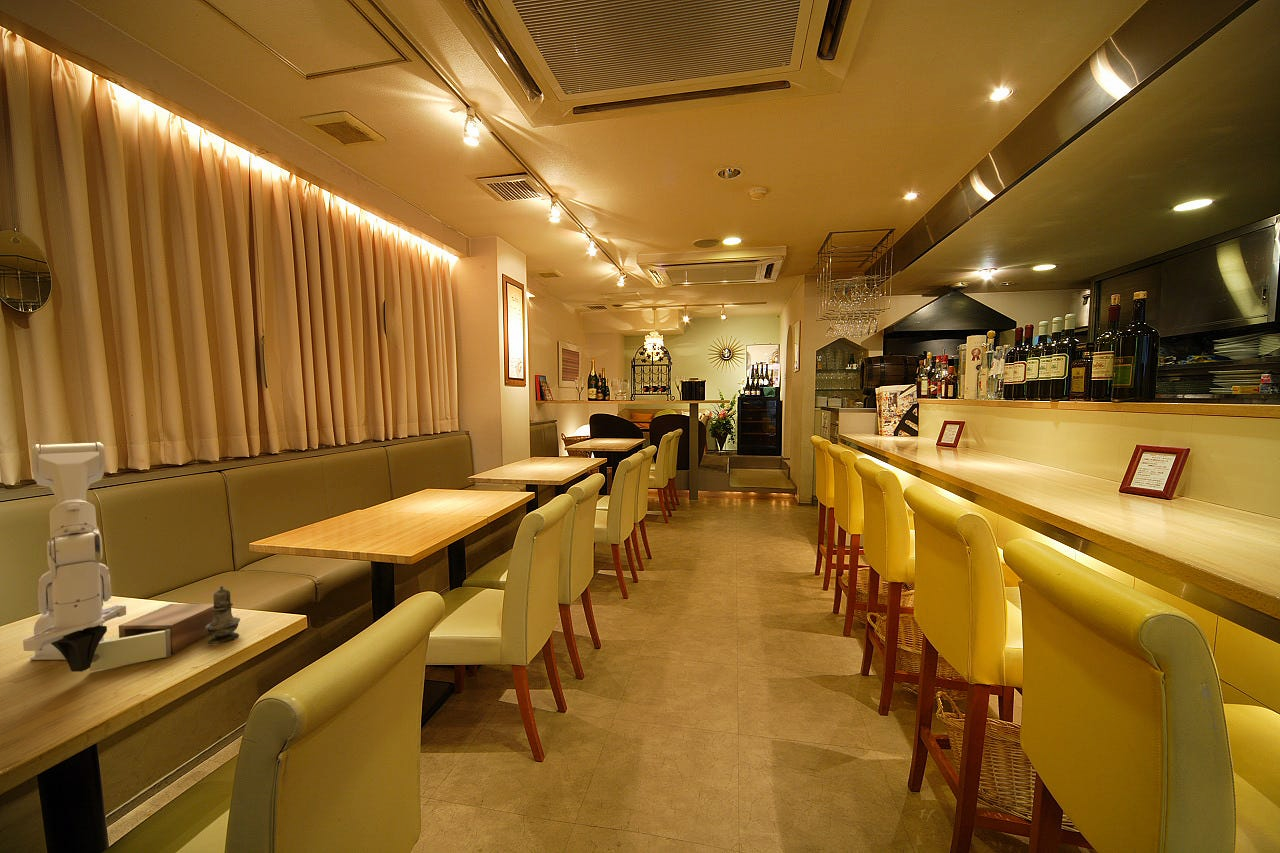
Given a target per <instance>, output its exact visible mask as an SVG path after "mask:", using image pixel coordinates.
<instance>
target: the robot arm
mask: <svg viewBox="0 0 1280 853" xmlns="http://www.w3.org/2000/svg"><path fill="white" fill-rule="evenodd" d="M30 449H31V450H30V453H31V454H30V456H31V457H30V458H31V459H30V460H31V471H32V473H33V480H34V481H35V482H36V485H38V486H42V487H46V488H50V490H51V492H52V493H53V495H54V497H55V506H53V507H52V508H51V509H50V510H49V538H50V539H49V540H47V542H46V553H47V554H46V555H47V556H46V557H47V565H48V568H49V570H48V571H46V572H45V573H43V574H42V575H41V576H40V578H39V579H38V586H37V597H38V598H37V600H38V604H37V605H38V613H40V614H41V616H39V618H38V619H37V620H36V622H35V624H34V626H33V636H30V637H27V638H25V639H23V641H22V642H23V645H22V646H23V651H24V652H34V655H32V656H30V657H29V660H30V661H31V660H32V661H33V660H34V661H35V660H37V661H38V660H43V661H44V660H45V661H46V660H47V661H49V660H51V661H53V660H66V662H67V664H68V667H69V669H70V670H71V672H81V673H82V672H84V671H86V670H89V669H90V666H91V663H92V659H93V656H94V653H95V651H96V648H97V646H98V644H99V642H101V641H106V640H112V639H113V638H104V636H105V634H106V633H107V632H108V627H107V626H106V625H104V624H105V623H106V622H107V621H108V622H109V621H110V620H113V619H116V618H120V617H121V618H122V617H124V616H126V615H127V606H126V604H125V605H122V604H121V605H113V606H112V607H108V608H104V609H103V606H104V602H108V601H109V600H110V599H112V585H111V584H112V583H111V582H112V581H111V575H110V572H109V567H108V566H107V564H104V563H101V561H102V559H103V554H104V552H103V551H104V550H103V549H104V548H103V538H102V535H101V532H100V528H99V526H97V525H98V524H97V514H96V512H97V511H96V506H95V505H94V504H92V503H91V502H88V501H87V492H88V490H89V488H90V485H91V484H94V483H96V482H99V481H102V479H103V478H102V477H103V476H104V473H105V468H106V455H105V454H106V453H105V452H106V451H105V445H104V444H103V443H101V441H96V442H88V443H87V442H86V443H84V442H83V443H61V444H59V443H58V444H57V443H55V444H39V443H38V444H37V443H36V444H34V445H33V446H32V447H30ZM96 553H97V554H98V557H99V560H98V559H96Z"/></svg>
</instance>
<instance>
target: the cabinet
mask: <svg viewBox="0 0 1280 853" xmlns="http://www.w3.org/2000/svg"><path fill="white" fill-rule="evenodd" d="M212 607H214V603H170V604H168V605H165V606H163V607H160V608H158V609H155V610H153V611H150V612H147V613H146V614H143V615H141V616H138V617H135V618H134V619H131V620H129V621H126V622H123V623H122V624H119V625H118V638H123V637H129V636H135V635H141V634H146V633H152V632H158V631H164V630H168V629H170V642H171V656H173V655H176V654H177V653H180V652H182V651H183V650H186V649H187V648H189V647H190V646H193V645H195V644H197V643H198V642H201V641H203V640H205V639H206V638H208V637H210V636H211V635H209V633H208V632H207V629H205V627H206V626H207V625H208V624H209V623H212V622H213V618H214V610H212Z"/></svg>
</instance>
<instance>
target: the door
mask: <svg viewBox="0 0 1280 853" xmlns="http://www.w3.org/2000/svg"><path fill="white" fill-rule="evenodd" d="M111 639H112V640H106V641H101V642H99V644H98V646H97V648H96V651H95V653H94V656H93V659H92V663H91V666H90V668H89V672H95V671H101V670H105V669H111V668H116V667H120V666H121V667H122V666H125V665H131V664H136V663H141V662H147V661H151V660H152V661H153V660H155V659H157V660H158V659H161V658H166V659H168V658H171V657H172V655H171V642H170V629H168V630H164V631H158V632H152V633H146V634H141V635H135V636H129V637H123V638H119V637H118V638H111Z"/></svg>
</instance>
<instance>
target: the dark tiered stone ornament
mask: <svg viewBox="0 0 1280 853" xmlns="http://www.w3.org/2000/svg"><path fill="white" fill-rule="evenodd" d="M212 598H213V604H214V607H212V610H214V618H213V622H212V623H209V624H208V625H207V626H206V627H205V629H207V632H208V633H209V635H210V636H211V637H212V638H210V639H209V640H208V641H207V644H208V645H210V646H218V645H222V644H226V643H230V642H232V641H235V640H236V639H238V638H239V636H240V633H238V632H235V631H236V630H237V629H238V626H239V623H240V621H241V618H240V617H237V616H236V617H234V616H233V613H232V606H234V604H233V603H232V602H231V590H229V589H225V588H224V586H223V585H220V587H219V589H218V590H217V591H215V592H214V593H213V597H212Z"/></svg>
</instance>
